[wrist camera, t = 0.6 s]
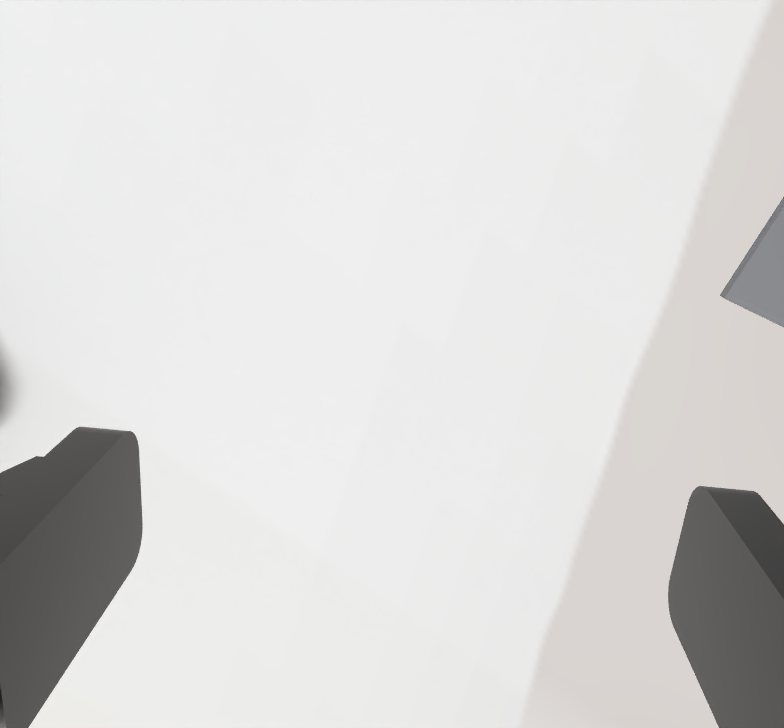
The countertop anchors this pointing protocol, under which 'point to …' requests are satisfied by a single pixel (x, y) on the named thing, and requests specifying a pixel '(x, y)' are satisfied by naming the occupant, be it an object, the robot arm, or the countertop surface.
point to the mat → (762, 273)
